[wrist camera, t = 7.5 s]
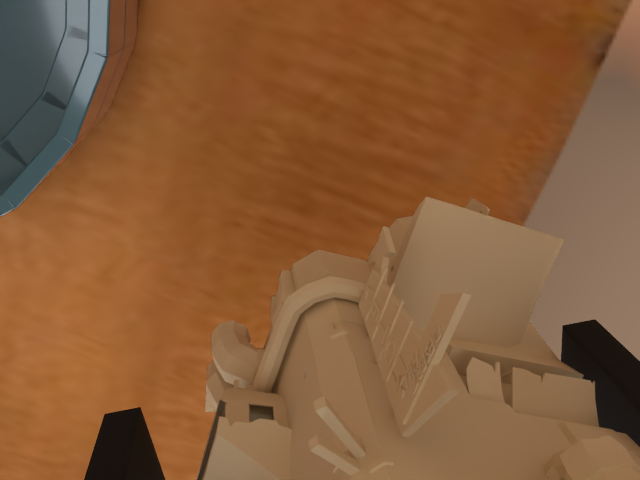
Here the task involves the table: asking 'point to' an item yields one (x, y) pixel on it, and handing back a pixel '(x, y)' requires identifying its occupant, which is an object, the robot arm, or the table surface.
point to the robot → (410, 367)
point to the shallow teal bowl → (55, 82)
